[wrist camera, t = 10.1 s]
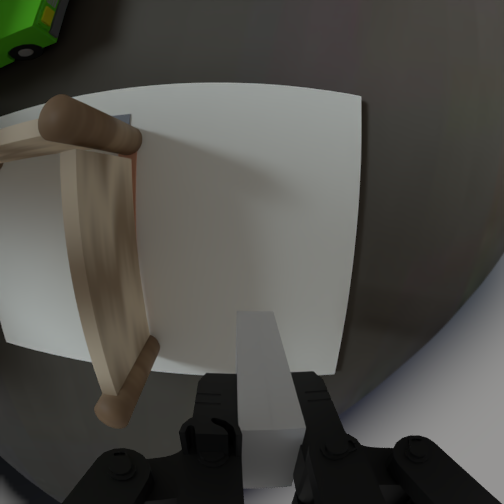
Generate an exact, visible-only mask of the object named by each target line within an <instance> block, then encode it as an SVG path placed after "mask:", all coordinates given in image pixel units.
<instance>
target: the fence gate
mask: <svg viewBox="0 0 504 504" xmlns="http://www.w3.org/2000/svg"><path fill="white" fill-rule="evenodd" d="M60 176H61V197H62V210H63V221H64V231H65V239H66V247H67V254H68V261H69V267H70V273H71V278H72V284H73V289H74V294H75V299H76V303H77V308H78V312H79V317H80V321H81V325H82V329H83V333H84V336H85V340H86V344H87V347H88V351H89V354H90V357H91V361H92V364H93V367H94V370H95V373H96V376H97V379H98V382H99V385H100V388H101V391H102V395H101V397H100V398H99V400H98V402H97V404H96V405H95V408H94V410H95V414H96V416H97V417H98V418H99V419H100V420H101V421H102V422H103V423H104V424H106V425H108V426H110V427H113V428H117V429H121V428H125V427H126V426H127V425H128V423H129V420H130V418H131V415H132V413H133V411H134V408H135V406H136V404H137V401H138V399H139V396H140V394H141V392H142V390H143V387H144V385H145V383H146V380H147V378H148V376H149V373H150V371H151V369H152V367H153V364H154V362H155V360H156V358H157V355H158V353H159V351H160V344H159V342H158V340H157V339H156V338H155V337H154V336H152V335H150V333H149V328H148V322H147V316H146V310H145V304H144V297H143V291H142V284H141V276H140V268H139V260H138V251H137V242H136V231H135V219H134V205H133V188H132V160H131V159H130V158H124V157H119V156H114V155H109V154H103V153H97V152H92V151H86V150H80V149H73V150H68V151H64V152H60Z"/></svg>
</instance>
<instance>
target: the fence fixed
mask: <svg viewBox="0 0 504 504" xmlns="http://www.w3.org/2000/svg"><path fill="white" fill-rule="evenodd" d="M141 144H142V134H141V132H140V131H139V130H138V129H137V128H135V127H133V126H131V125H129V124H127V123H125V122H123V121H121V120H119V119H117V118H115V117H113V116H110V115H108V114H106V113H104V112H102V111H100V110H98V109H96V108H94V107H91V106H89V105H87V104H85V103H83V102H80V101H78V100H76V99H74V98H72V97H69V96H67V95H64V94H60V95H56V96H54V97H52V98H51V99H50V100H48V101H47V102H46V104H45V105H44V106H43V108H42V110H41V112H40V115H39V118H38V119H35V120H31V121H27V122H23V123H19V124H16V125H12V126H9V127H5V128H2V129H0V169H1V168H2V166H3V163H5V162H10V161H15V160H20V159H26V158H32V157H37V156H44V155H50V154H57V153H60V152H64V151H68V150H73V149H80V150H90V149H96V150H101V151H106V152H111V153H116V154H121V155H131V154H133V153H135V152H136V151H138V150H139V148H140V147H141Z"/></svg>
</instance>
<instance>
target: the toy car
mask: <svg viewBox="0 0 504 504" xmlns="http://www.w3.org/2000/svg"><path fill="white" fill-rule="evenodd" d="M68 2H69V0H0V68H1V67H3V66H5V65H7V64H10V63H12V62H14V61H15V59H18V60H29V59H33V58H36V57H38V56H40V55H42V53H43V50H44V47H46V46H49V45H51V44H54V43H56V42H57V38H58V35H59V32H60V28H61V24H62V21H63V17H64V14H65V11H66V8H67V5H68Z"/></svg>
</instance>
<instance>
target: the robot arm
mask: <svg viewBox="0 0 504 504" xmlns="http://www.w3.org/2000/svg"><path fill="white" fill-rule="evenodd" d="M235 366H236V374H226V373H206V374H205V375H204V376H203V377H202V378H201V379H200V381H199V382H198V387H197V395H196V400H195V406H194V413H193V417H192V418H190V419H189V420H188V421H186V422H185V423H184V424H183V425H182V427H181V429H180V431H179V435H180V441H181V446H182V450H181V451H179V452H178V453H176V454H174V455H171V456H167V457H161V458H153V459H145V457H144V456H143V455H141V454H140V453H138V452H136V451H134V450H130V449H125V448H120V449H112V450H109V451H107V452H104V453H103V454H102V455H101V456H100V457H98V458H97V460H96V461H95V462H94V463H93V465H92V466H91V467H90V469H89V470H88V471H87V472H86V474H85V475H84V476H83V477H82V479H81V480H80V481H79V482H78V484H77V485H76V486H75V488H74V489H73V490H72V491H71V493H70V494H69V495H68V496H67V498H66V499H65V500H64V501H63V503H62V504H244V496H243V488H273V487H287V486H291V485H292V481H293V478H294V483H295V488H296V492H295V495H294V498H293V501H292V504H502V503H500V502H499V501H498V500H497V499H496V498H495V497H493V496H492V495H491V494H490V493H489V492H488V491H487V490H486V489H485V488H484V487H482V486H481V485H480V484H479V483H478V482H477V481H476V480H475V479H474V478H473V477H471V476H470V475H469V474H468V473H467V472H466V471H465V470H464V469H462V467H460V466H459V465H458V464H457V463H456V462H455V461H454V460H453V459H452V458H451V457H449V456H448V455H447V454H446V453H445V452H444V451H443V450H442V449H441V448H440V447H438V445H436V444H435V443H434V442H433V441H431V440H430V439H428V438H426V437H422V436H407V437H404V438H402V439H401V440H399V441H398V442H397V443H396V444H395V446H394V448H374V447H366V446H363V445H360V443H359V442H358V441H357V439H356V438H354V437H352V436H351V435H349V434H346V432H345V431H344V429H343V426H342V424H341V421H340V419H339V416H338V414H337V412H336V409H335V407H334V404H333V402H332V400H331V397H330V395H329V393H328V392H327V388H326V385H325V383H324V381H323V379H322V378H321V377H319V376H318V375H317V374H316V373H315V372H314V371H307V372H290V369H289V365H288V362H287V358H286V355H285V351H284V348H283V344H282V340H281V337H280V333H279V330H278V326H277V323H276V319H275V316H274V312H270V311H237V315H236V365H235Z"/></svg>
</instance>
